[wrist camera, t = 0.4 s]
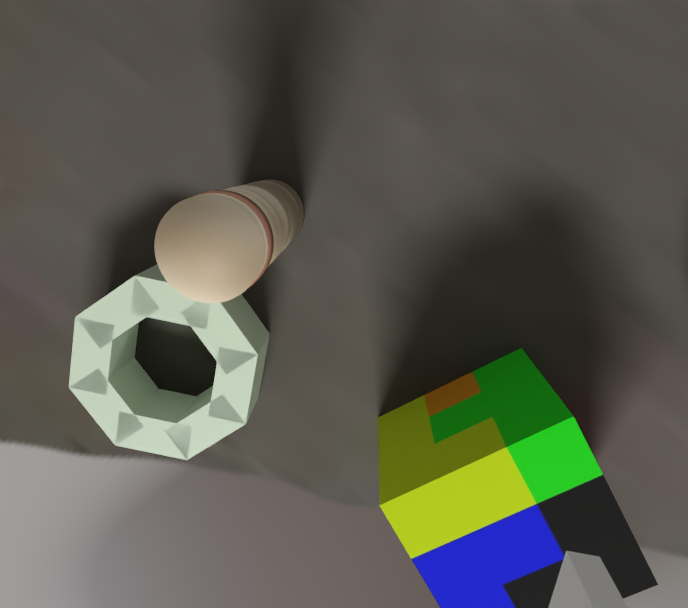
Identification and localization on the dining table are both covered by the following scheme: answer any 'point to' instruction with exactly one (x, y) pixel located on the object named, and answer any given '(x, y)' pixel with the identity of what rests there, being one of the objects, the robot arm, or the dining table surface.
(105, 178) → the dining table surface
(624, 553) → the puzzle toy
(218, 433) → the bead
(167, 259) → the striped rounded cylinder
